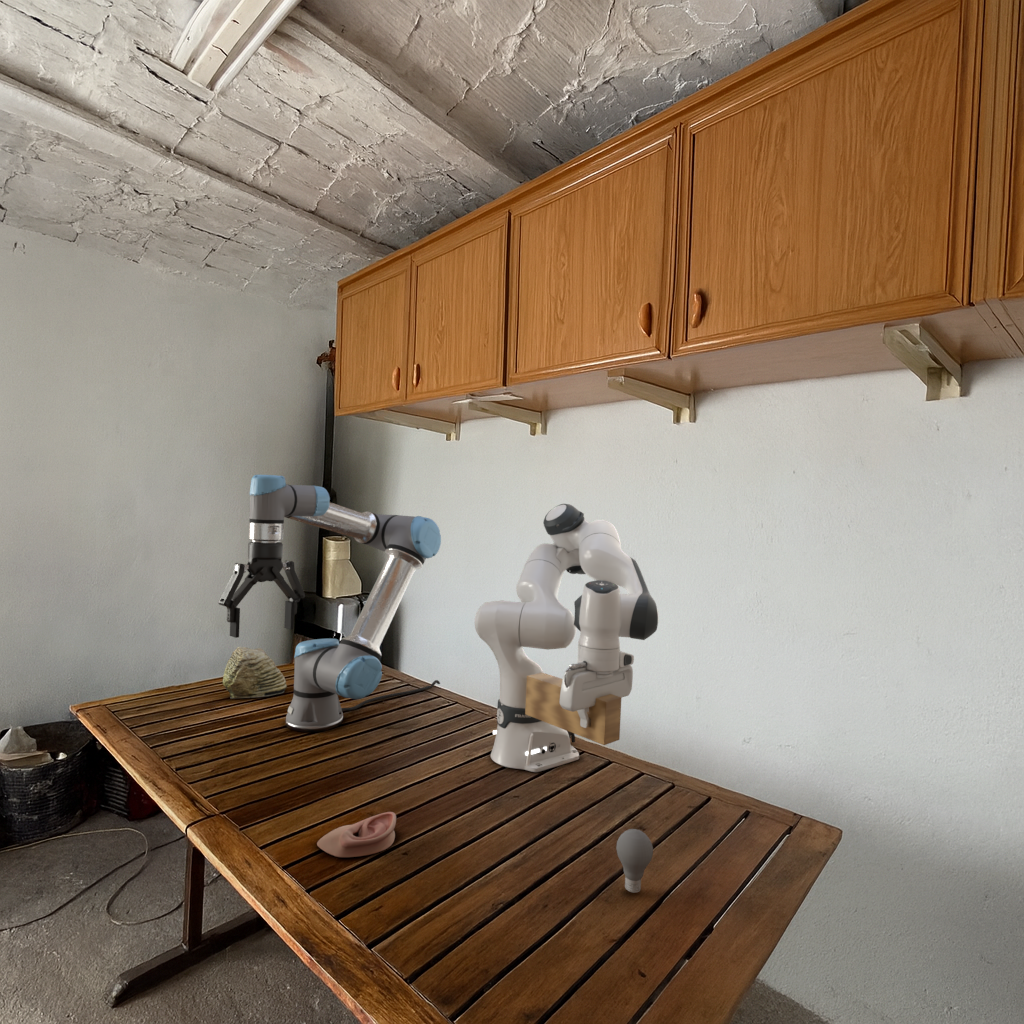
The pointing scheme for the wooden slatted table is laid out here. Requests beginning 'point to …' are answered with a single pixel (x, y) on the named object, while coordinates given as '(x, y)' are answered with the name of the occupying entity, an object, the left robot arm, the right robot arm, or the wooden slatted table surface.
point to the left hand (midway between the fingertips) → (262, 632)
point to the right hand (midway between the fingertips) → (595, 723)
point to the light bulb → (634, 857)
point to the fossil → (252, 674)
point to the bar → (548, 709)
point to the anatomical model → (361, 837)
